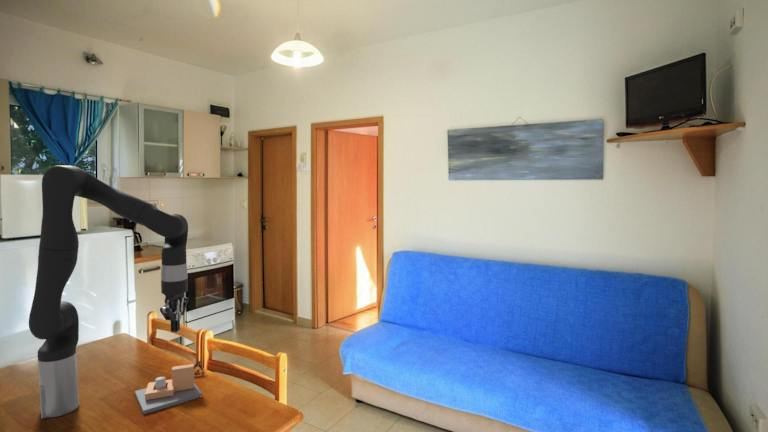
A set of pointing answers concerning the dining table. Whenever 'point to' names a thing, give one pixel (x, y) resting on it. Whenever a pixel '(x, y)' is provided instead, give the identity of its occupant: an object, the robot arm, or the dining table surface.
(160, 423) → the dining table surface
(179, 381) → the peach open lidded box
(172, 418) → the dining table surface
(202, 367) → the wooden post with brackets
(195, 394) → the post base
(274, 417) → the dining table surface
